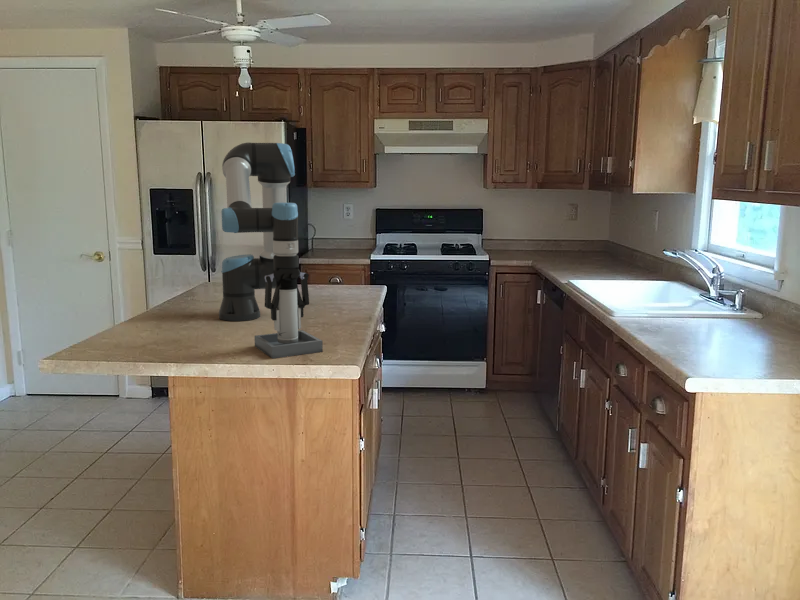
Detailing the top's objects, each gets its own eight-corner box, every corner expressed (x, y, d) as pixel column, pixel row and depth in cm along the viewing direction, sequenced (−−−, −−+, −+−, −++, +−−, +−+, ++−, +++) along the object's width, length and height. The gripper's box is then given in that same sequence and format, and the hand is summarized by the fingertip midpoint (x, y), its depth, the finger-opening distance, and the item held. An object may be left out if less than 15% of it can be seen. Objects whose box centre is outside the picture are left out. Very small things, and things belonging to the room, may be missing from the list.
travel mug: (278, 344, 198) (277, 279, 194) (276, 339, 204) (274, 276, 200) (299, 343, 200) (298, 278, 196) (296, 338, 206) (295, 275, 202)
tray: (254, 346, 205) (254, 335, 204) (302, 340, 213) (302, 330, 212) (272, 358, 192) (272, 347, 191) (322, 351, 200) (322, 340, 199)
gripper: (259, 257, 189) (261, 335, 193) (320, 254, 199) (321, 328, 203) (251, 254, 195) (253, 330, 200) (310, 251, 205) (311, 323, 209)
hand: (287, 329), depth 201 cm, fingers closed on travel mug, 6 cm apart
